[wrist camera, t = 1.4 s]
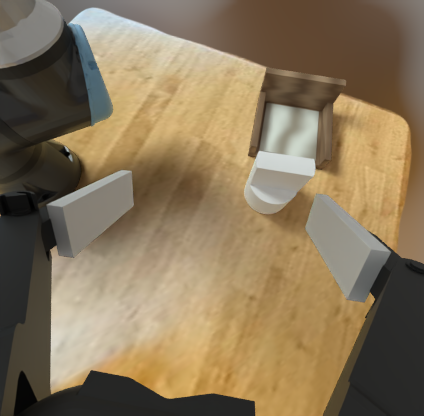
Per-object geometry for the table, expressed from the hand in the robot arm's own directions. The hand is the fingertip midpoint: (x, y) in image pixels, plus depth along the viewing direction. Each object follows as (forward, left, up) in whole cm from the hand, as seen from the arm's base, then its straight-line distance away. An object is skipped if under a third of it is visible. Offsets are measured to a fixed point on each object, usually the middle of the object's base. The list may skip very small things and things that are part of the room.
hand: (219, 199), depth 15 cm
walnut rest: (+11, +29, -26) cm, 41 cm away
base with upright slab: (+8, +13, -26) cm, 31 cm away
